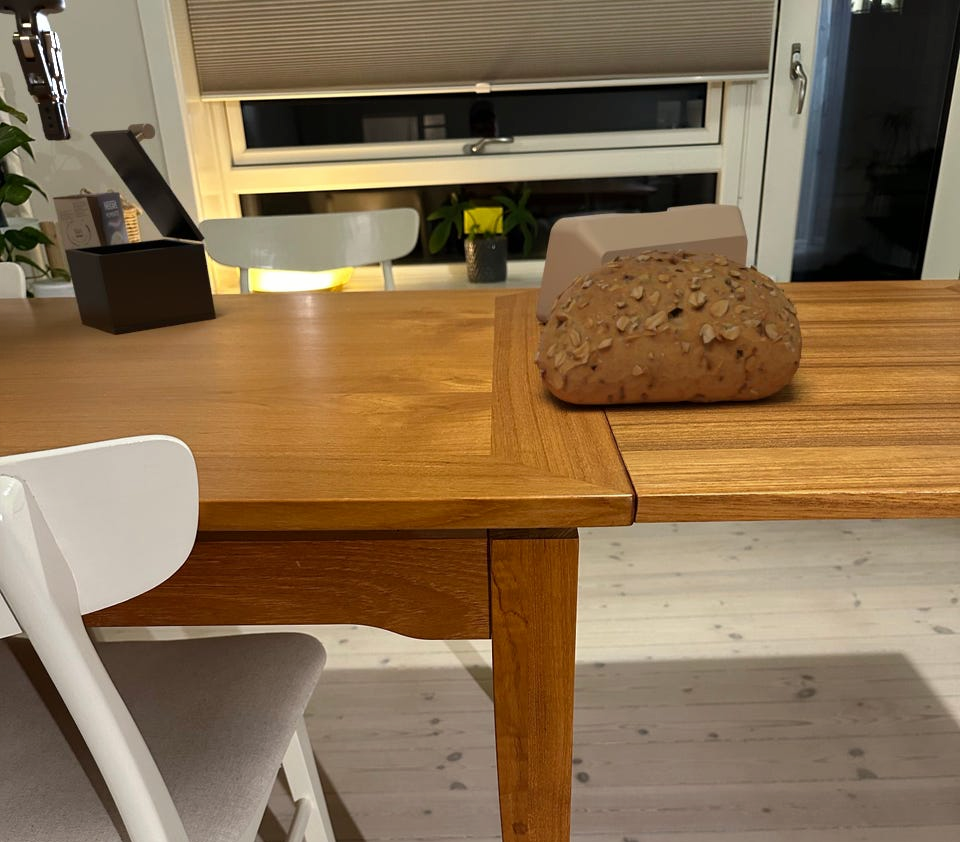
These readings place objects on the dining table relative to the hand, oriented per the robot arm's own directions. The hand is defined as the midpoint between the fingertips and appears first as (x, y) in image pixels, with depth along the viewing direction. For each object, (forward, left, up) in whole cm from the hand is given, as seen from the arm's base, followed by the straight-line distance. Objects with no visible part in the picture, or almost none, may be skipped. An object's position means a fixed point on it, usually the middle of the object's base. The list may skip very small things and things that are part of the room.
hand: (59, 139), depth 111 cm
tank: (+69, -13, -23) cm, 74 cm away
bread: (+59, -44, -23) cm, 77 cm away
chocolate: (0, 0, 0) cm, 0 cm away
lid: (+7, +16, -6) cm, 18 cm away
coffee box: (-3, +26, -23) cm, 35 cm away
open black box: (+4, +14, -23) cm, 27 cm away
